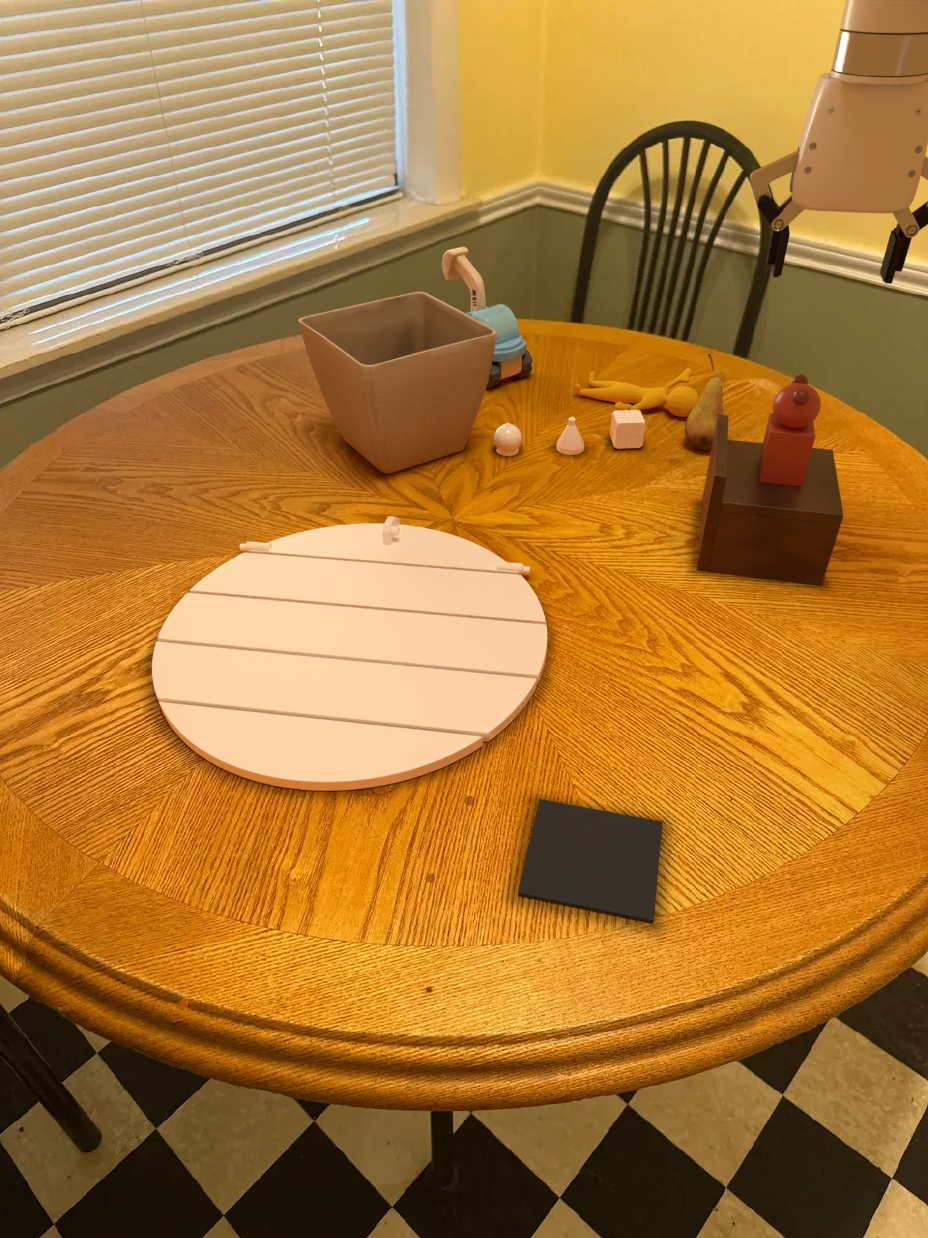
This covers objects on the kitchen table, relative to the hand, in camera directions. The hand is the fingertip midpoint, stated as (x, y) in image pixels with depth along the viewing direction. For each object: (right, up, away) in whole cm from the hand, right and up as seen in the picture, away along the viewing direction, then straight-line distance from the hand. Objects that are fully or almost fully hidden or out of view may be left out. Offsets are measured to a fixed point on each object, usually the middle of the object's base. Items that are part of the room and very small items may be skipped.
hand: (830, 275), depth 80 cm
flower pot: (-42, -8, +39) cm, 58 cm away
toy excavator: (-31, +8, +58) cm, 66 cm away
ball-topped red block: (0, -16, +13) cm, 21 cm away
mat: (-24, -50, -13) cm, 57 cm away
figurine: (-9, 0, +47) cm, 48 cm away
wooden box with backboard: (0, -23, +19) cm, 30 cm away
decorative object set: (-20, -8, +38) cm, 44 cm away
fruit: (-2, -9, +37) cm, 38 cm away
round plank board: (-45, -34, +8) cm, 57 cm away
